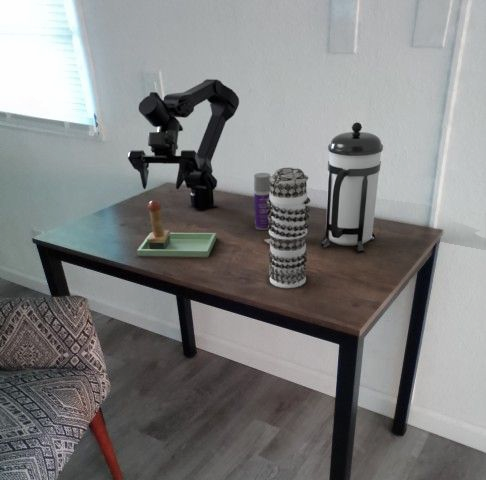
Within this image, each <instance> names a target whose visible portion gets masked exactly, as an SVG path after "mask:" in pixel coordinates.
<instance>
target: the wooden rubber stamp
mask: <svg viewBox="0 0 486 480" xmlns="http://www.w3.org/2000/svg"><path fill="white" fill-rule="evenodd" d="M147 208H148V211H149V216H150V222H151V230H152V232H150V233H151V235H150V236H149V237H148V236H147V237H148V239H147V242H148V243H149V248H150V249H166V248H167V246H168V245H169V243H170V236H169V234H170V233H171V230H170V229H164V225H163V217H162V211H161V208H162V205H161V203H160V201H158V200H151V201H149V203H148V204H147Z"/></svg>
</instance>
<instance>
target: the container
mask: <svg viewBox="0 0 486 480" xmlns="http://www.w3.org/2000/svg"><path fill="white" fill-rule="evenodd" d="M270 177H271V174H270V173H268V172H258V173H254V175H253V196H254V225H255V229H256V230H259V231H269V230H270V229H269V228H268V216H269V213H268V212H267V210H268V209H267V207H268V206H267V202H266V201H267V200H268V197H269V193H270V180H269V178H270ZM270 203H271V201H270ZM270 211H271V209H270Z"/></svg>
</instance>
